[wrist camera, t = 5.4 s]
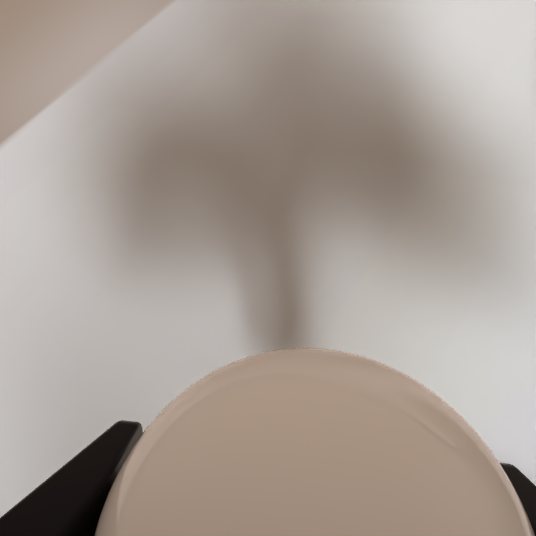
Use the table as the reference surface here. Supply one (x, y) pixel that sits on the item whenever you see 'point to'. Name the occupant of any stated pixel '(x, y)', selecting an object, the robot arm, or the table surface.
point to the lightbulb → (311, 458)
